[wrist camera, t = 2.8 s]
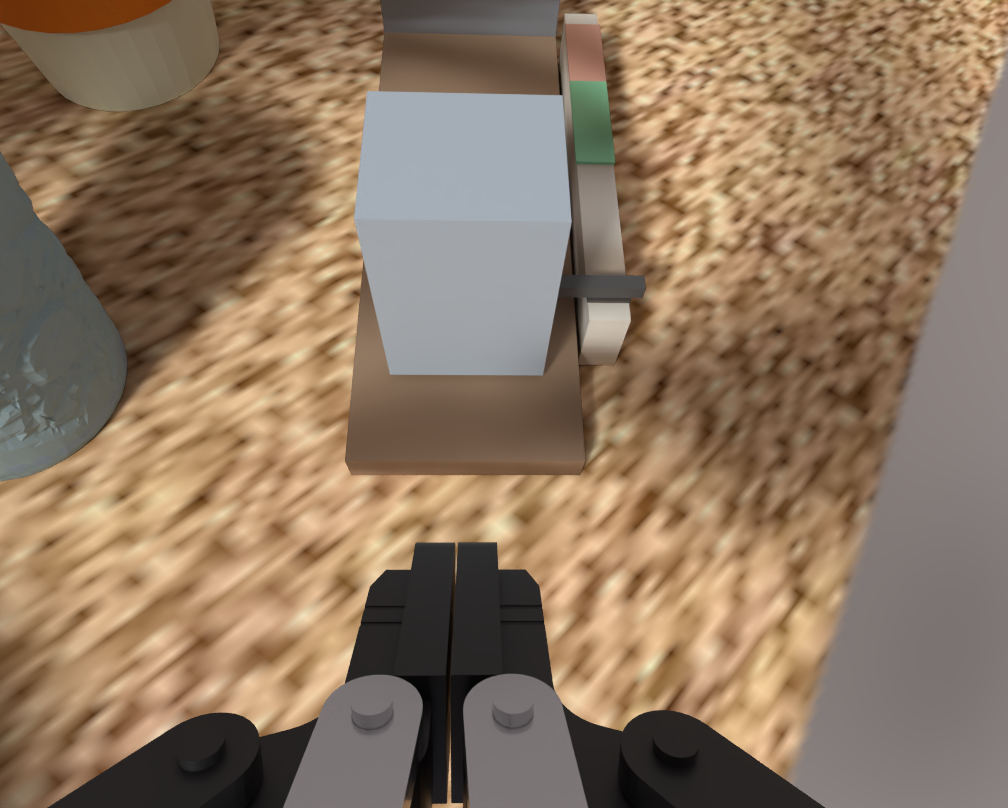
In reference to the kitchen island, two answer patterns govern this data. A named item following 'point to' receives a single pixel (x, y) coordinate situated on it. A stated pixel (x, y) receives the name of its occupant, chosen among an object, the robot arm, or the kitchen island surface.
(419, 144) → the block
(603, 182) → the track
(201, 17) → the reusable coffee cup
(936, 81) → the kitchen island surface
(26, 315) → the teal gray cup
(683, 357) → the kitchen island surface
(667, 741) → the robot arm
